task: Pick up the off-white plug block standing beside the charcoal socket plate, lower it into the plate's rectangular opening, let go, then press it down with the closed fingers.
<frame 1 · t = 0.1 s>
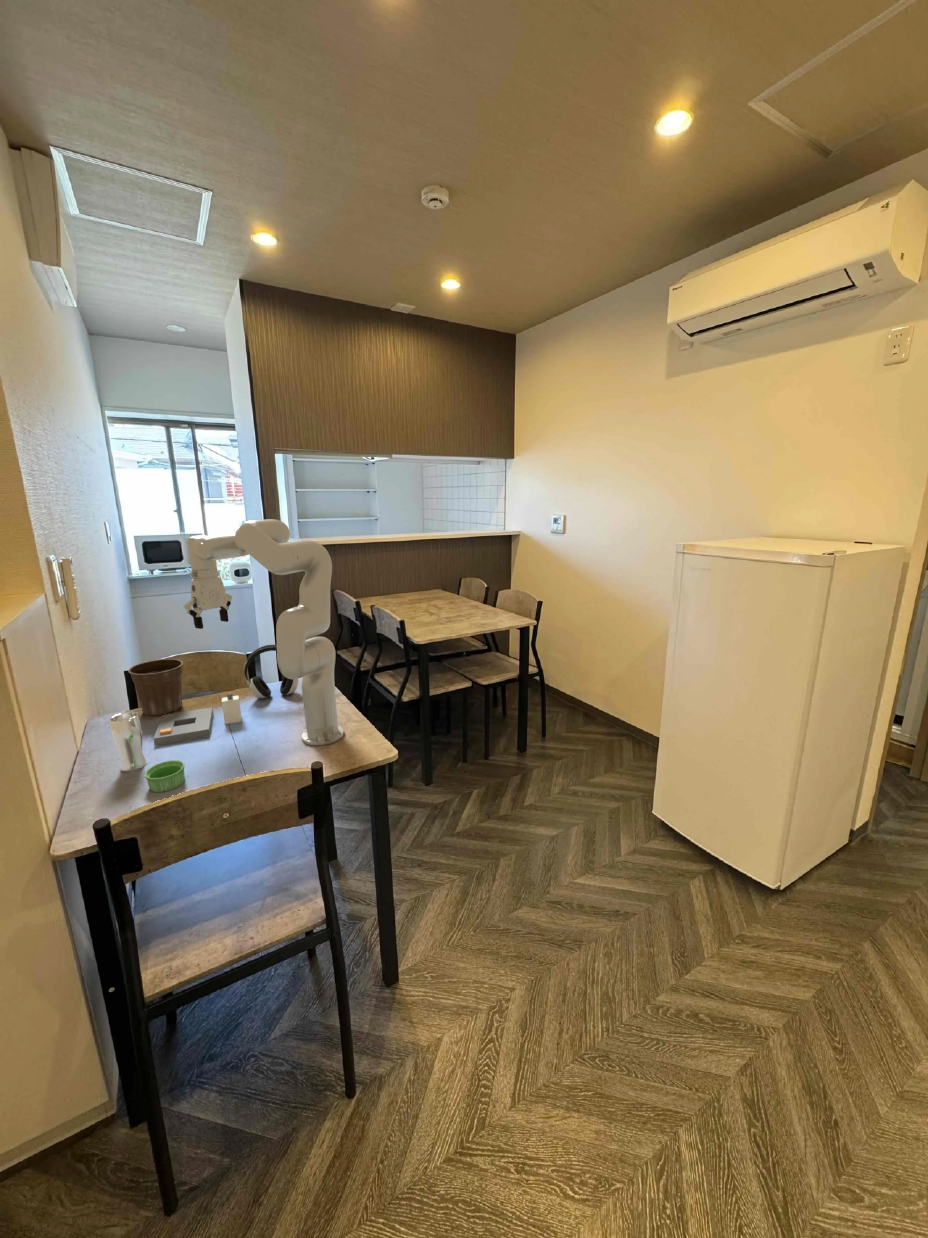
hand: (212, 624, 167), 31 cm above the table, tool pointing down, fingers open, 9 cm apart
plug: (233, 720, 167), on the table
plant pot: (163, 709, 177), on the table
beer glass: (133, 766, 140), on the table
headphones: (275, 697, 186), on the table
socket: (185, 728, 162), on the table
ramekin: (167, 784, 131), on the table
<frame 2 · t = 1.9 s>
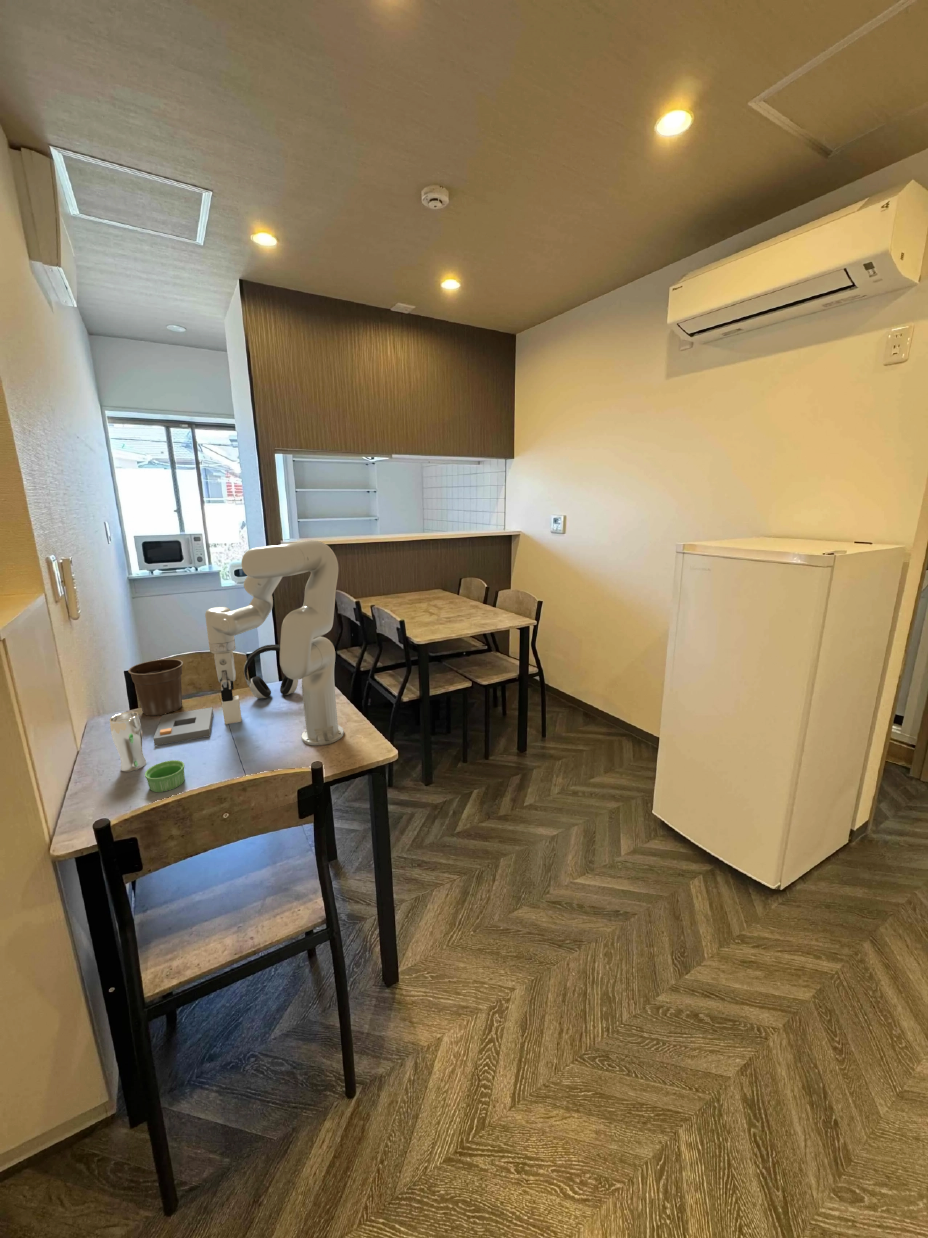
hand: (228, 695, 165), 9 cm above the table, tool pointing down, fingers open, 9 cm apart
nothing on the table moved.
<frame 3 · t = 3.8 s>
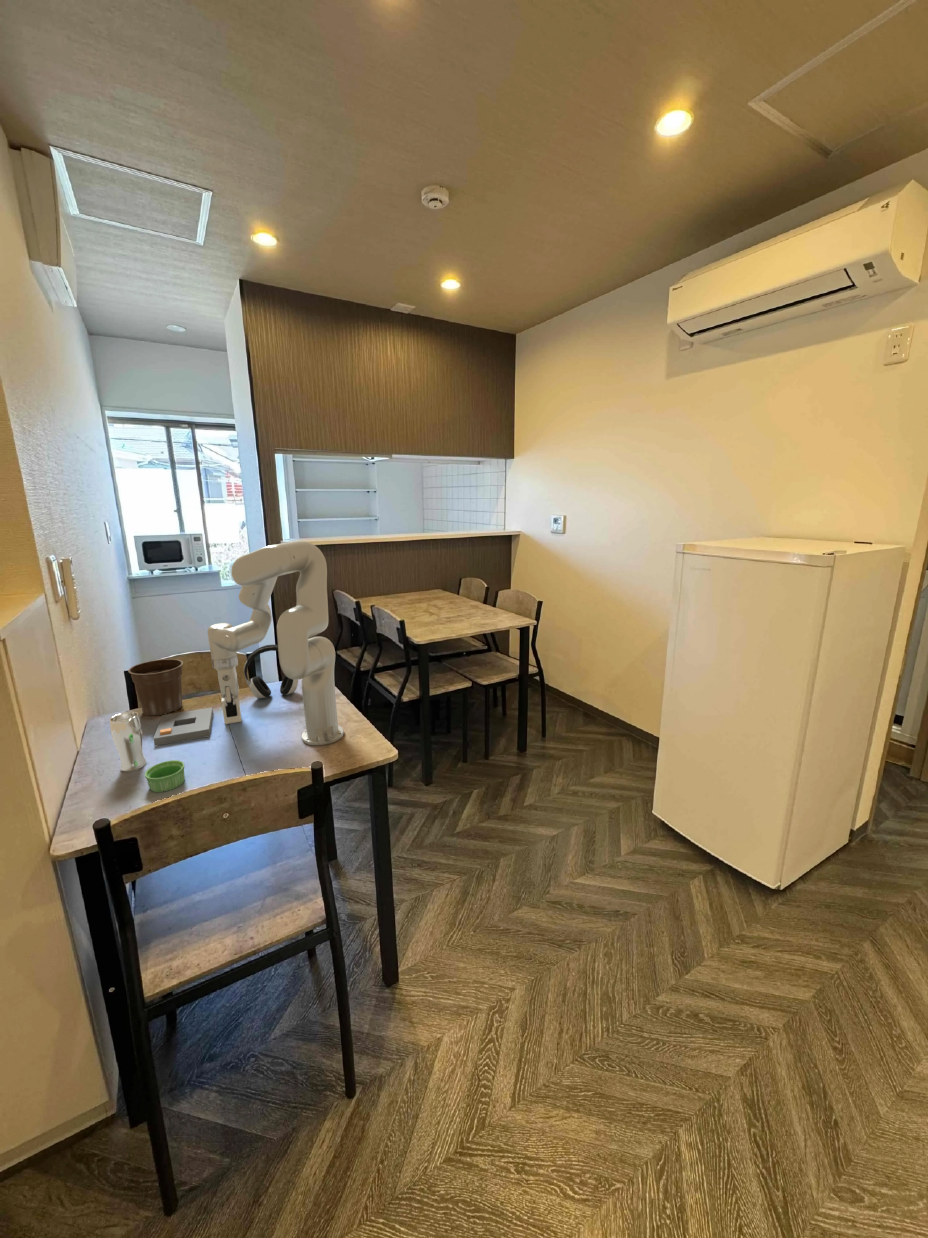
hand: (232, 713, 166), 3 cm above the table, tool pointing down, fingers closed on plug, 3 cm apart
plug: (233, 720, 167), on the table, touching gripper
everything else where it was.
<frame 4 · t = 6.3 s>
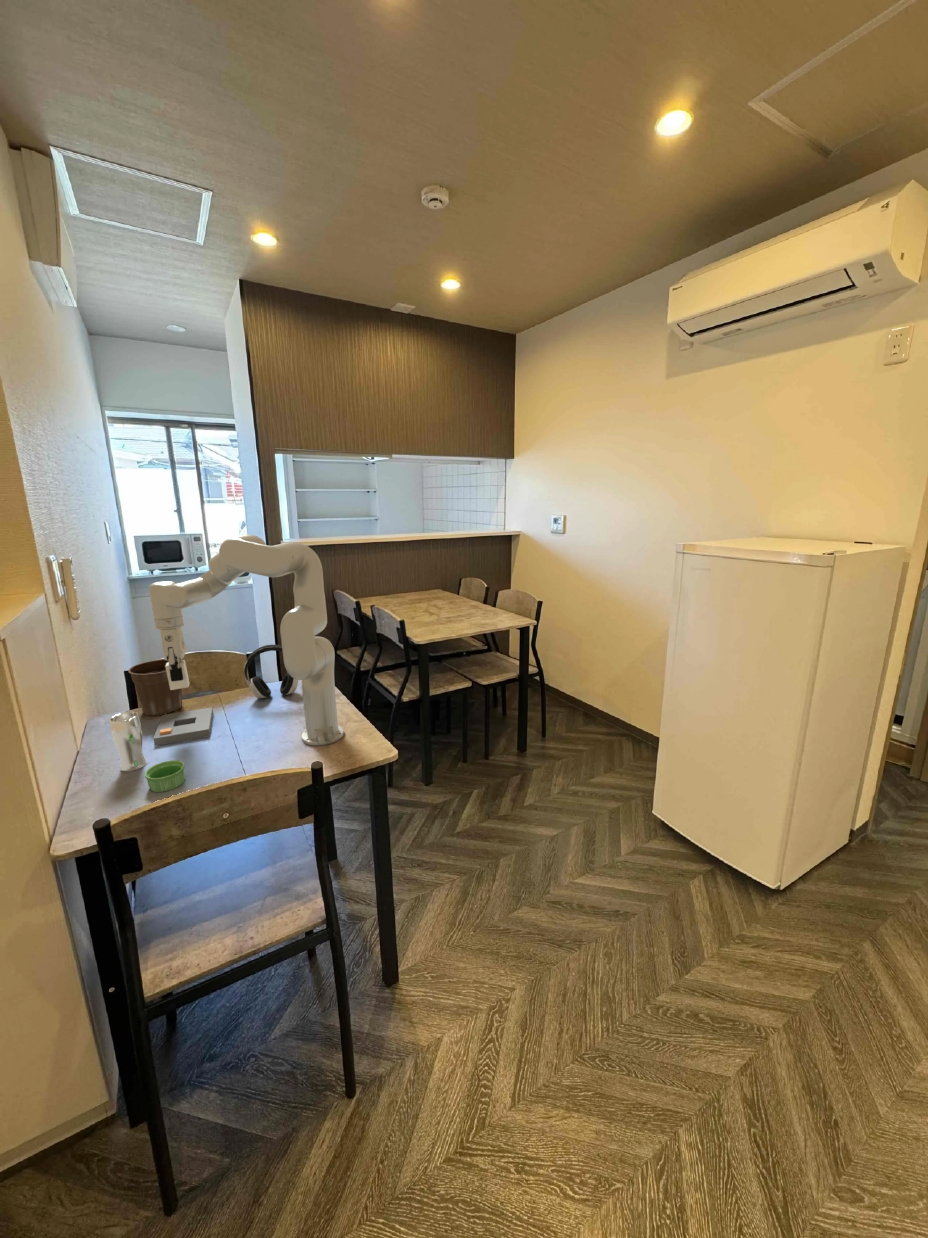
hand: (178, 677, 157), 17 cm above the table, tool pointing down, fingers closed on plug, 3 cm apart
plug: (180, 686, 158), point 14 cm above the table, touching gripper
everything else where it was.
when the fingers open (4 cm above the table, at t = 8.9 s): plug stays where it is, resting on socket.
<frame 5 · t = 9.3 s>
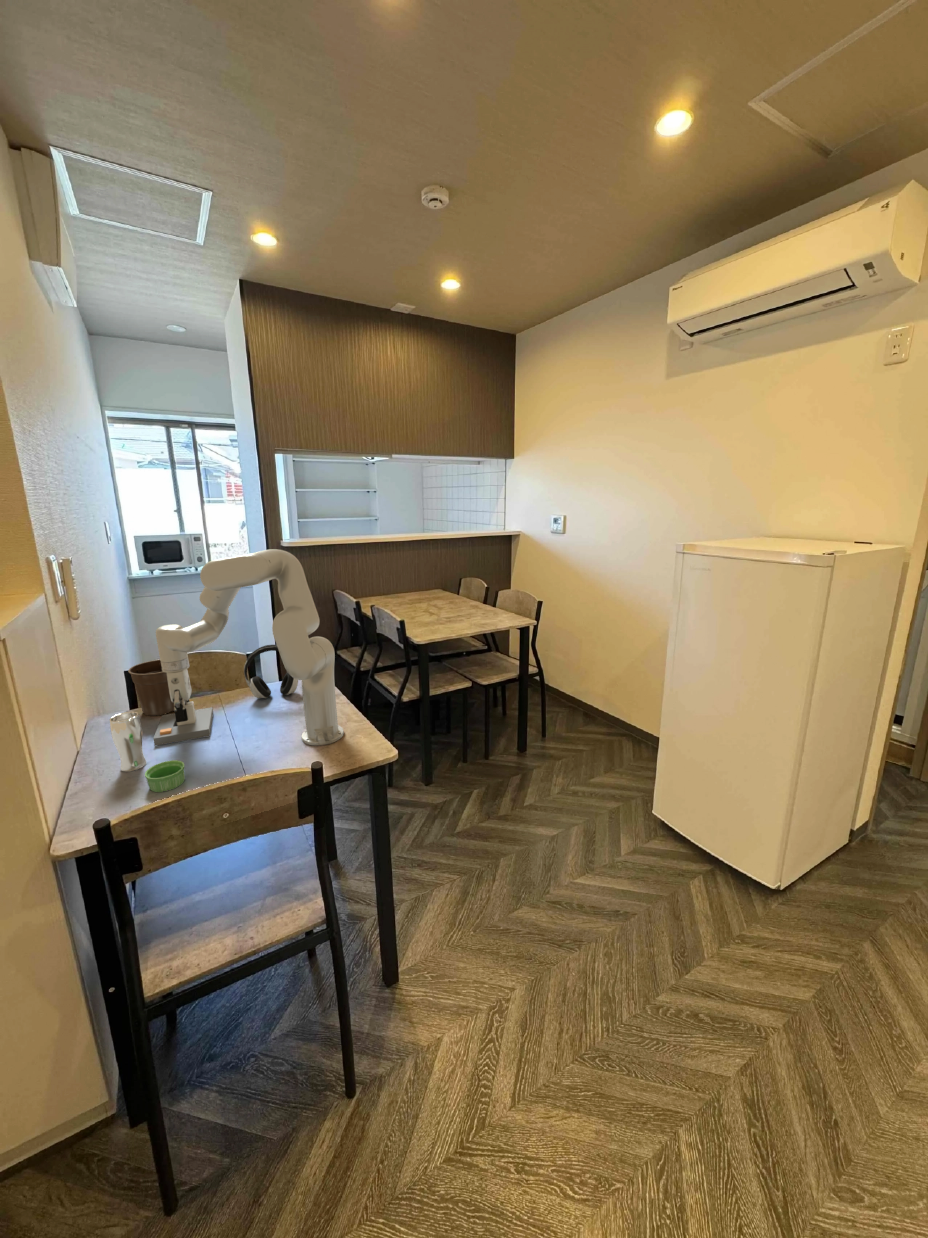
hand: (183, 715, 161), 5 cm above the table, tool pointing down, fingers open, 8 cm apart
plug: (187, 727, 162), resting on socket
everything else where it was.
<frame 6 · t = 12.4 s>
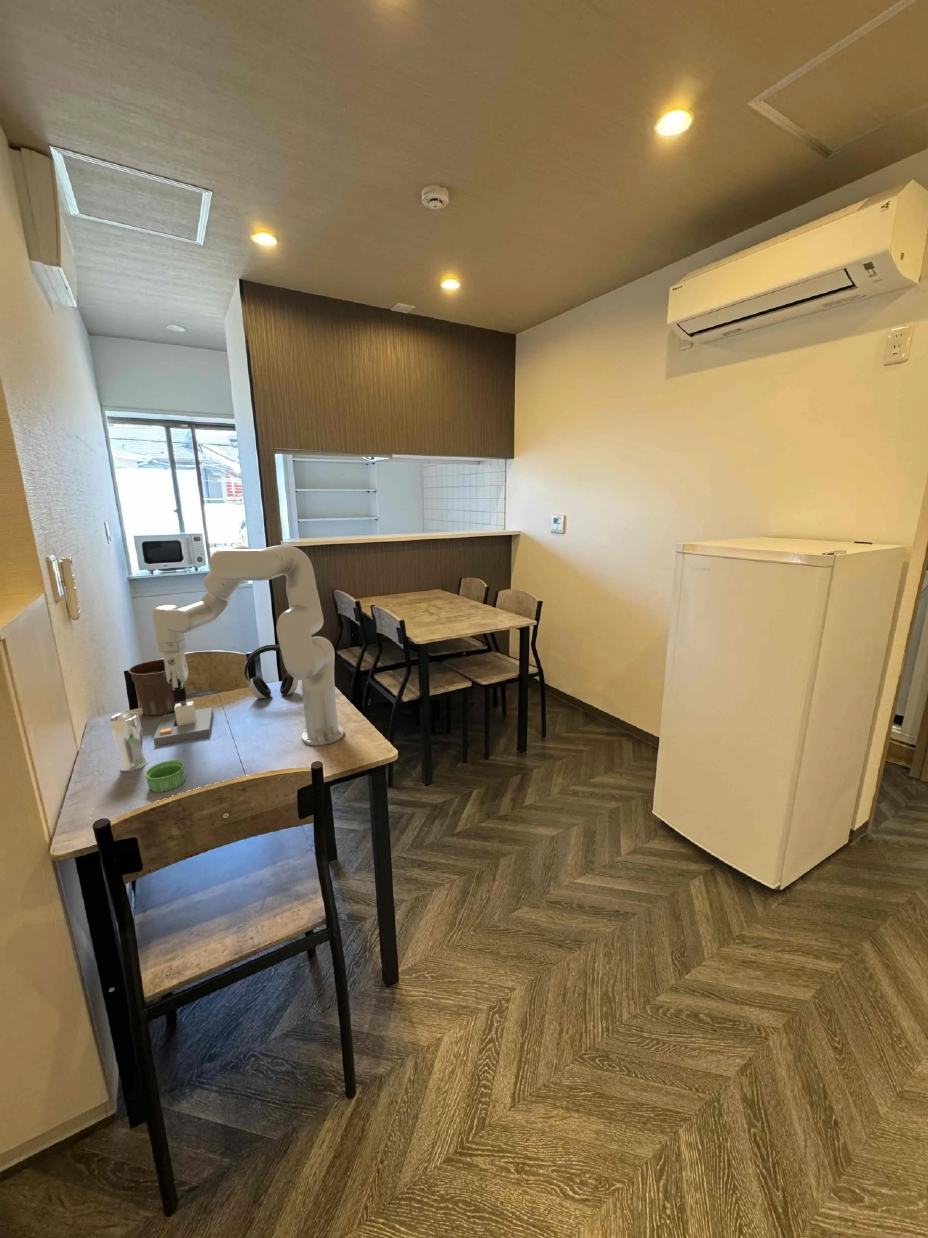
hand: (180, 700, 159), 10 cm above the table, tool pointing down, fingers closed
plug: (187, 727, 162), resting on socket, touching gripper
everything else where it was.
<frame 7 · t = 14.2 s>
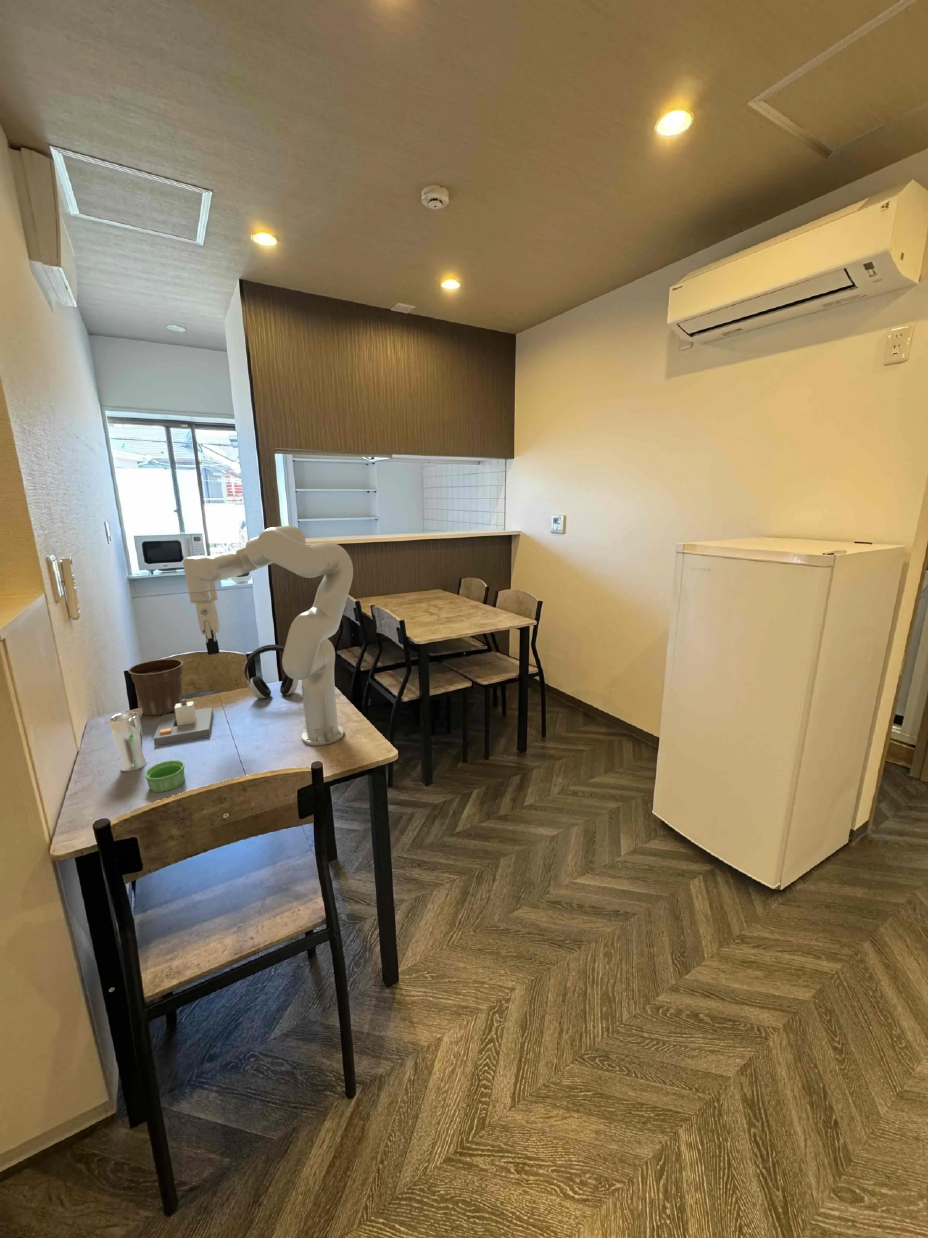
hand: (213, 653, 158), 25 cm above the table, tool pointing down, fingers closed
plug: (187, 727, 162), resting on socket
everything else where it was.
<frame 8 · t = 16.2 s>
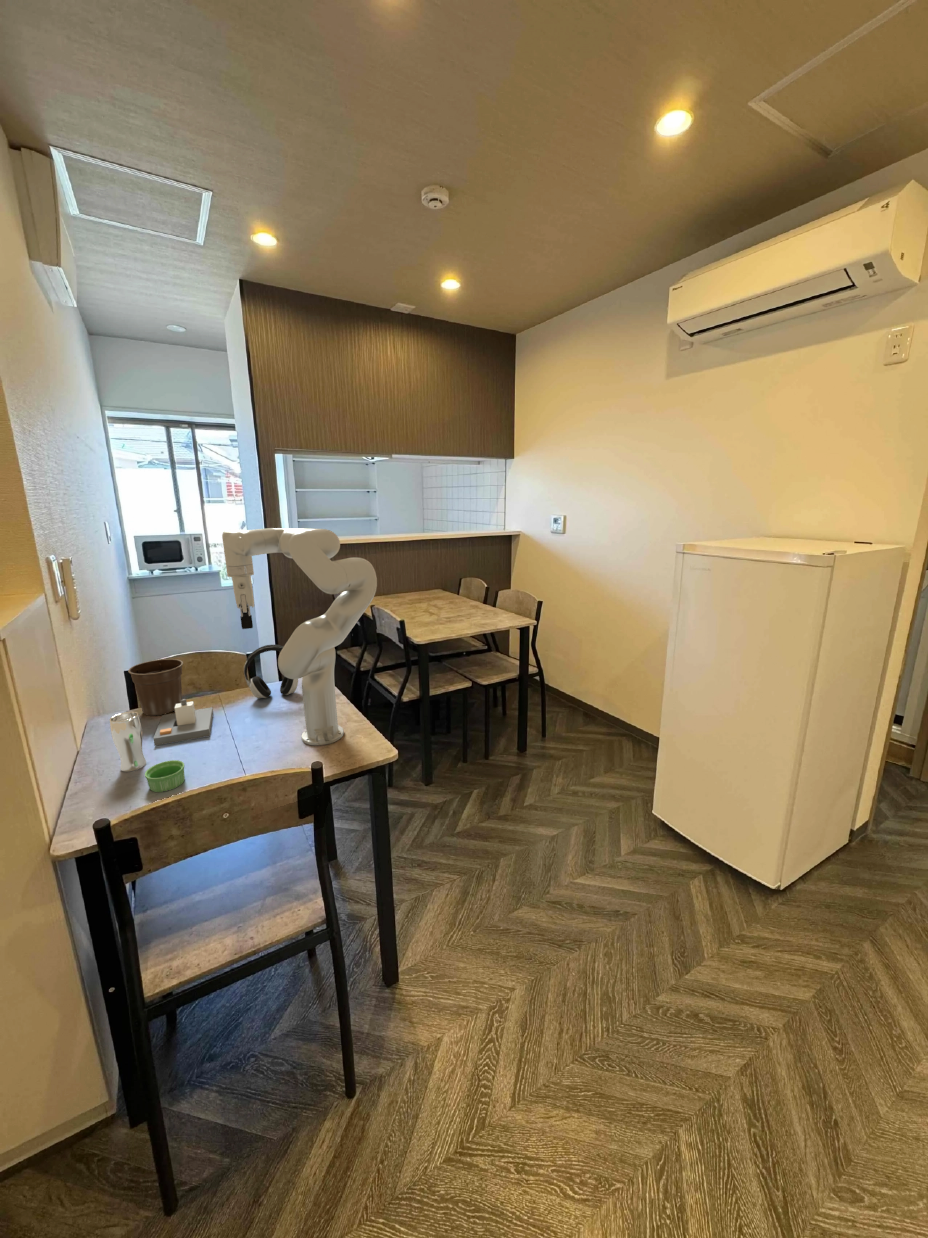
hand: (247, 627, 158), 32 cm above the table, tool pointing down, fingers closed
nothing on the table moved.
at the end: plug 0.6 cm off-centre on the socket, point 0.3 cm above the socket's base; plug tilted 0°; the gripper is holding nothing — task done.
